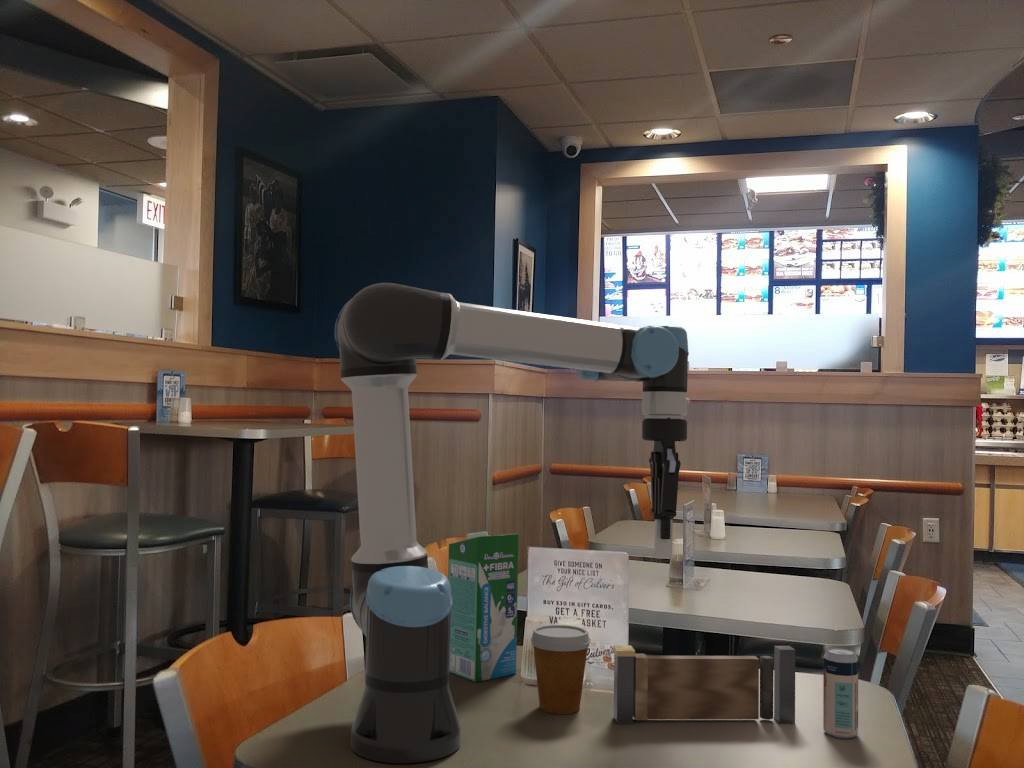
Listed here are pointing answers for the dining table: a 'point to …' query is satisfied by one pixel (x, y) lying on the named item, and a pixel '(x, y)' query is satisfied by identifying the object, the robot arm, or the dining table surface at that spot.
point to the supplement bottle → (840, 693)
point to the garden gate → (702, 687)
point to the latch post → (623, 683)
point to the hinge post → (784, 684)
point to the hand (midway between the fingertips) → (663, 557)
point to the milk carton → (483, 606)
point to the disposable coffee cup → (560, 666)
